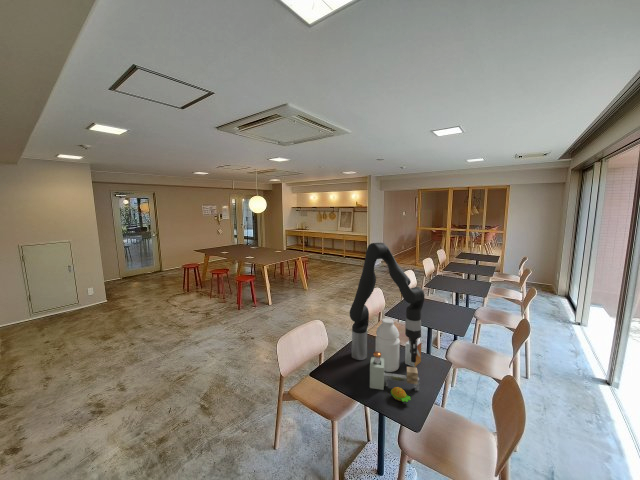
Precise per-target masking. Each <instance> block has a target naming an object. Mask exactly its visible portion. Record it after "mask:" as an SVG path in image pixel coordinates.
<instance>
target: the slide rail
mask: <svg viewBox="0 0 640 480" xmlns="http://www.w3.org/2000/svg"><path fill="white" fill-rule="evenodd" d="M389 381H398V382H405V383H407V374H406V375H404V374H397V373H392V372H384V387H389V385H388V384H389V383H388V382H389ZM414 391H417V392H419V391H420V377H419V376H418V384H414Z"/></svg>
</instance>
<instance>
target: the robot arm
mask: <svg viewBox="0 0 640 480" xmlns="http://www.w3.org/2000/svg"><path fill="white" fill-rule="evenodd" d="M377 260H382V261H383V262H384V263H385V264H386V266H387V269H388V273H389V276H390V277H391V279H392V281H393V282H394V284H395V285H396V286H397V287H398V289H399V293H400V294H401V297H402V298H403V300H404V301H405V302H406V303H408V304H409V305H408V306H407V307H406V309H405V328H404V329H405V330H404V332H405V336H406V337H407V338H408V341H409V345H410V353H411V362H416V356H417V344H418V343H417V341H418V339H420V338H421V337H422V309H423V307H424V302H425V292H424V290H423V289H422V287H419V286H414V287H411V288H410V284H411V283H412V282H411V281H412V280H411V279H410V278H409V276H408V275H407V274H406V273H405V271H404V270H403V269H402V268H401V267H400V265H399V264H398V261H396V259H395V257H394V256H393V253H392V251H391V249H389V246H388V245H387V244H386V243H384V242H372V243H369V245H368V246H367V248H366V251H365V257H364V263H363V267H362V272H361V275H360V279H359V282H358V287H357V289H356V293H355V295H354V296H355V297H354V299H353V302H352V304H351V307H350V310H349V318H350V320H351V321H352V322H354V323H353V324H352V325H351V358H352V359H355V360H357V361H364V360H365V359H367V358H368V327H369V323H370V322H369V319H370V313H369V312H370V311H369V308H368V306H367V305H366V303H367V301H368V300H369V298H370V297H371V295H372V294H373V293H374V289H375V287H376V283H377V276H376V273H375V265H376V262H377ZM414 352H415V353H414Z"/></svg>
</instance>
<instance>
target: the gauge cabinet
mask: <svg viewBox="0 0 640 480" xmlns="http://www.w3.org/2000/svg"><path fill="white" fill-rule="evenodd" d="M369 363H370V364H369V389H376V390H381V391H385V390H384V388H385V386H384V373H385V371H384V358H380V365H377V364H374V356H371V357H370V362H369Z"/></svg>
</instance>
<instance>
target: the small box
mask: <svg viewBox="0 0 640 480" xmlns="http://www.w3.org/2000/svg"><path fill="white" fill-rule="evenodd" d="M417 343H418V344H417V356H416V362H411V353H410V345H409V340H408V341H406V342H405V353H404V357H405V359H404V363H405V365H408V366H409V367H414V368H417V366H418V365H419V364H421V362H422V341H421V340H417ZM414 353H415V352H414Z"/></svg>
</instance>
